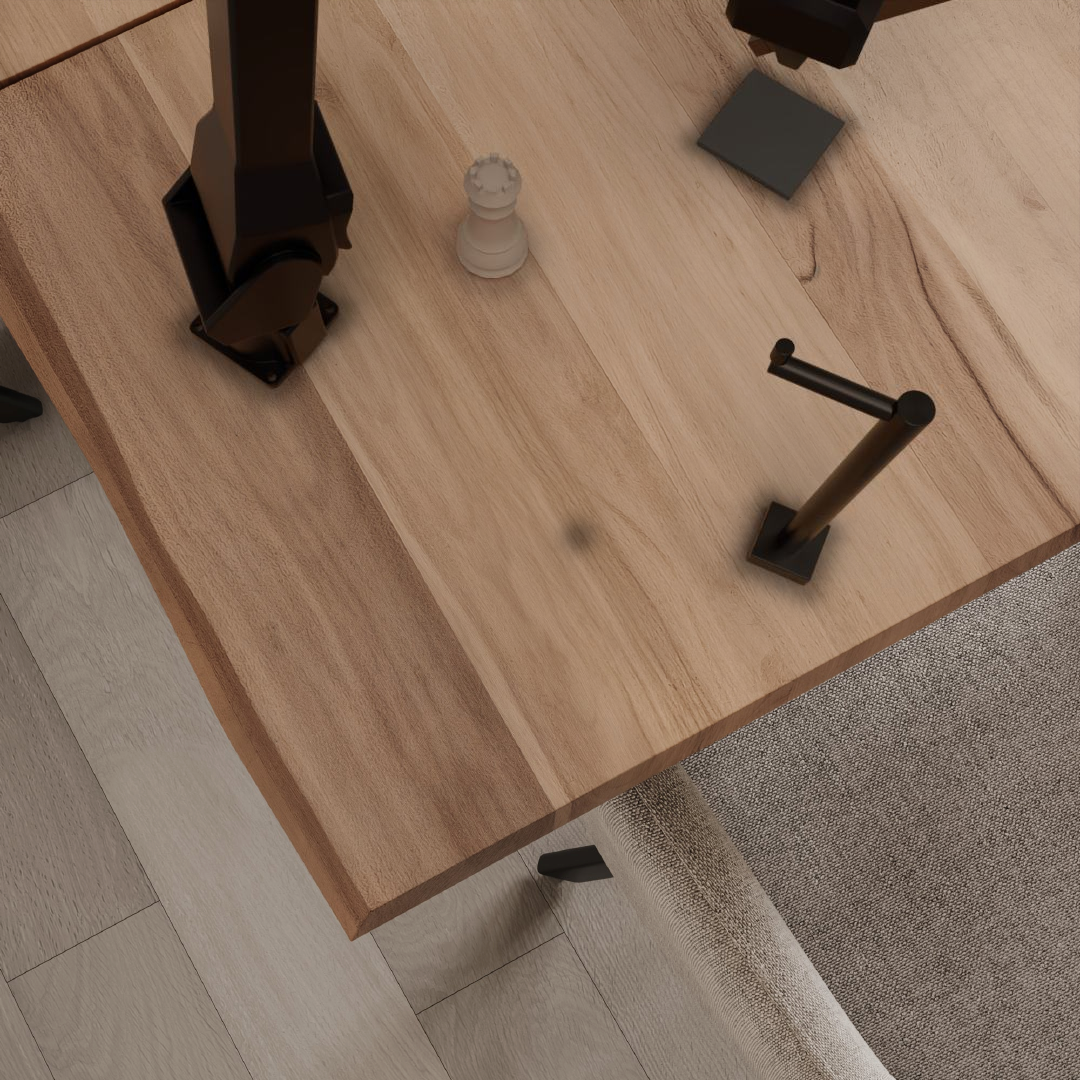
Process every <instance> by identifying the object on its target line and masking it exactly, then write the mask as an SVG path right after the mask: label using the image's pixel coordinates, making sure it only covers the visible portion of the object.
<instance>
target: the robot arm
mask: <svg viewBox="0 0 1080 1080" xmlns="http://www.w3.org/2000/svg"><path fill="white" fill-rule="evenodd" d="M883 2H884V0H728V1H727V4H726V8H725V12H724V15H725V17H726V19H727V20H728V23H729V24H730V26H731V28H733V29H735V30H737V31H740V32H743V33H745V34H748V35H750V36H751V35H752V36H755V37H757V38H760V39H763V40H765V41H768V42H770V43H772V45H773V48H774V51H775V52H774V54H775V57H776V60H777V63H778V64H779V65H781V66H783V67H786V68H789V69H791V70H794V71H797V70H799V69H800V68H801V67H802V65H803V64H804V63H805V62H806V60H808V59H811V60H813V61H816V62H818V63H821V64H823V65H826V66H829V67H831V68H833V69H835V70H839V71H840V70H843V69H846V68H850V67H854V66H855V65H856V64H857V62H858V60H859V58H860V56H861V53H862V51H863V49H864V47H865V44H866V43H867V40H868V38H869V35H870V34H871V32H872V28H873V27H874V24H875V23H874V22H875V20H876V18H877V15H878V13H879V11H880V8H881V6H882V4H883ZM319 3H320V0H205V8H206V22H207V34H208V49H209V58H210V59H209V61H210V72H211V74H210V75H211V85H212V99H213V102H212V108H211V109H209V110H208V111H207V112H206V113H205V114H204V115H203V116H202V117H201V118H200V119H199V120H198V121H197V122H196V124H195V131H194V138H193V144H192V151H191V157H190V164H189V165H188V167H186V169H185V171H184V172H183V173H182V174H181V175H180V176H179V178H178V179H177V180H176V181H175V182H174V184H173V185H172V186H171V188H170V189H169V190H168V191H167V192H166V193H165V195H164V196H163V197H162V198H161V205H162V208H163V211H164V213H165V217H166V219H167V222H168V225H169V228H170V231H171V235H172V238H173V240H174V244H175V246H176V248H177V252H178V254H179V257H180V261H181V264H182V267H183V269H184V272H185V275H186V279H187V282H188V284H189V287H190V289H191V293H192V296H193V299H194V302H195V306H196V309H197V311H198V315H197V316H196V317H195V318H194V319H193V320H192V321H191V323H190V324H189V330H190V333H191V334H192V335H193V337H195V338H196V339H197V340H199V341H201V342H202V343H203V344H204V345H207V346H208V347H209V348H211V349H212V350H214V351H215V352H217V353H218V354H219V355H221V356H223V357H224V358H226V359H227V360H228V361H229V362H231V363H232V364H234V365H236V366H237V367H238V368H240V369H241V370H243V371H244V372H245V373H247V374H249V375H250V376H252V377H253V378H255V379H256V380H257V381H259V382H260V383H261V384H263V385H265V386H266V387H268V388H270V389H275V388H278V387H280V385H281V384H283V382H284V381H285V380H286V378H287V377H288V376H289V375H290V374H291V372H292V371H293V370H294V369H295V368H296V367H297V366H302V365H303V364H304V362H305V361H306V360H307V359H308V358H309V357H310V356H311V355H312V353H313V352H314V351H315V350H316V348H317V347H318V346H319V345H320V344H321V343H322V341H323V340H324V339H325V338H326V337H327V330H328V329H329V328H330V327H331V326H332V324H334V322H335V321H336V320H337V319H338V318H339V315H340V307H339V305H338V304H337V303H336V302H334V301H333V300H332V299H330V297H327V296H326V295H324V294H323V293H321V292H320V288H321V285H322V282H323V278H324V277H327V276H329V275H330V274H331V272H332V271H333V270H334V268H335V266H336V265H337V263H338V259H339V256H340V250H344V251H345V250H346V251H347V250H351V249H352V248H353V245H352V242H351V239H350V237H349V234H348V231H347V230H348V225H349V222H350V221H351V217H352V214H353V210H354V197H355V195H354V191H353V189H352V186H351V184H350V182H349V179H348V176H347V173H346V171H345V169H344V167H343V164H342V162H341V158H340V156H339V154H338V150H337V149H336V146H335V143H334V141H333V138H332V136H331V133H330V131H329V128H328V126H327V123H326V120H325V118H324V116H323V113H322V109H321V107H320V106H319V102H318V100H317V99H316V98H315V97H316V77H317V76H316V74H317V54H318V53H317V51H318V50H317V49H318V29H319V28H318V27H319ZM331 309H332V310H333V311H332V312H329V310H331ZM198 327H202V328H201V329H200V330H197V328H198ZM272 377H275V379H274V380H272V381H271V380H270V378H272Z"/></svg>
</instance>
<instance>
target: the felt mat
mask: <svg viewBox="0 0 1080 1080" xmlns="http://www.w3.org/2000/svg"><path fill="white" fill-rule="evenodd" d="M720 110H721V111H720V112H719V113H718V114H717V115H716V117H715V118H714V119H713V120H712V122H711V123H710V124H709V126H707V128H706V129H705V131H704V132H703V133H702V135H701V136H700V137H699V138H698V140H697V143H696V144H697V146H698V147H701V148H702V149H704V150H706V151H707V152H708V153H710V154H712V155H714V156H715V157H717V158H718V159H719V160H722V161H723V162H725V163H726V164H728V165H730V166H732V167H733V168H735V169H737V170H738V171H740V172H741V173H743V174H744V175H746V176H747V177H749V178H751V179H752V180H755V181H756V182H758V184H760V185H762V186H764V187H766V188H767V189H769V190H771V191H772V192H774V193H775V194H777V195H779V196H781V197H782V198H784V200H786V201H790V200H791V199H792V197H793V196H794V195H795V193H796V192H797V191H798V189H799V188H800V186H801V185H802V184H803V182H804V181H805V180H806V178H807V177H808V175H809V174H810V173H811V171H812V170H813V168H815V166H816V165H817V163H818V162H819V160H820V159H821V157H822V156H823V155H824V154H825V152H826V151H827V149H828V148H829V147H830V146H831V144H832V143H833V141H834V140H835V139H836V137H837V136H838V134H839V133H840V132H841V130H842V129H843V128H844V126H845V124H846V122H845V120H843V119H841V118H839V117H838V116H837V115H834V114H833V113H831V112H829V111H828V110H826V109H824V108H823V107H820V106H819V105H817V104H816V103H814V102H813V101H810V100H809V99H807V98H805V97H804V96H802V94H801V95H800V94H799V93H797V92H796V91H794V90H793V89H791V88H789V87H787V86H786V85H784V84H782V83H780V82H779V81H778V80H775V79H774V78H772V77H771V76H769V75H768V74H766V73H763V72H762V71H760V70H759V69H757V68H753V69H752V70H751V72H750V73H749V74H748V75H747V77H746V78H745V79H744V80H743V82H742V83H741V84H740V86H738V89H736V91H735V92H734V93H733V95H732V96H731V97H730V99H728V101H727V103H726V104H725V105H724V106H723V107H722V109H720Z"/></svg>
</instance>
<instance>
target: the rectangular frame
mask: <svg viewBox="0 0 1080 1080" xmlns="http://www.w3.org/2000/svg"><path fill="white" fill-rule="evenodd" d="M950 1H952V0H884V2H883V4H882V6H881V8H880V11H879V13H878V15H877V18H876V20H875V22H874V24H875V23H879V22H882V21H886V20H889V19H893V18H896V17H900V16H904V15H906V14H910V13H913V12H917V11H920V10H923V9H927V8H931V7H933V6H937V5H941V4H944V3H947V2H948V3H949V2H950ZM747 45H748V47H749V49H751V52H752V53H753V54H754V56H755V58H759V57H761V56H762V57H763V56H765V55H770V54H772V53H775V51H774V48H773V45H772V43H770V42H768V41H765V40H763V39H760V38H757V37H755V36H752V35H750V37H749V39H748V41H747Z"/></svg>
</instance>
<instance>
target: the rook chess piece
mask: <svg viewBox="0 0 1080 1080" xmlns="http://www.w3.org/2000/svg"><path fill="white" fill-rule="evenodd" d="M463 188H464V190H465V192H466V196H467V197H468V198H467V203H468V204H469V208H470V211H469V212H468V213H467V214H465V216H464V217H463V219H462V221H461V223H460V224H459V227H458V229H457V231H456V232H457V233H456V244H455V251H456V254H457V256H458V259H459V261H460V263H461V265H463V266H464V267H465V268H466V270H468V271H469V272H470V273H472V274H475V275H477V276H478V277H481V278H485V279H486V278H488V279H500V278H503V277H506V276H510V275H512V274H513V273H514V272H516V271H517V270H519V269H520V268H521V267H522V266H523V264H524V262H525V260H526V258H527V257H528V253H529V240H528V232H527V230H526V227H525V225H524V222H523V220H522V219H521V218H520V216H518V215H517V214H516V212H515V208H516V207H517V205H518V197H519V195H520V194H521V192H522V191H523V177H522V175H521V173H520V171H519V169H518V168H517V167H516V166H515V165H514V162H513V161H512V160H511V159H510V158H509V157H508V156H506V157H505V158H504V159H503V158H501V157H500V153H499V152H491V151H490V152H489V156H488V157H485V158H484V157H483V155H482V154H480V155H479V156H477V157H476V158H475V159H474V163H472V164H471V165H470V166H468V169H467V170H466V171H465V174H464V175H463Z"/></svg>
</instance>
